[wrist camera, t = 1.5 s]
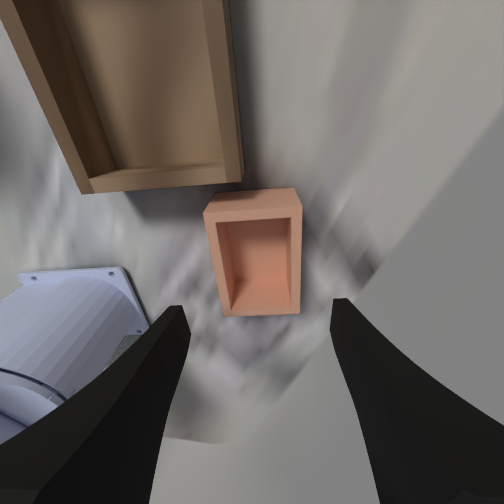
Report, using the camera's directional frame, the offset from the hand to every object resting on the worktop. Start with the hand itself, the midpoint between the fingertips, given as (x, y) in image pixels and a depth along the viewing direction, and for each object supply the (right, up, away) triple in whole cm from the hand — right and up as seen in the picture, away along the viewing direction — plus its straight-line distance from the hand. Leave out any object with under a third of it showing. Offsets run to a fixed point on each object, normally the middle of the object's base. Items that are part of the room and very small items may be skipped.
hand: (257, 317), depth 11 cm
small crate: (0, +4, +7) cm, 8 cm away
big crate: (-6, +14, +2) cm, 15 cm away
